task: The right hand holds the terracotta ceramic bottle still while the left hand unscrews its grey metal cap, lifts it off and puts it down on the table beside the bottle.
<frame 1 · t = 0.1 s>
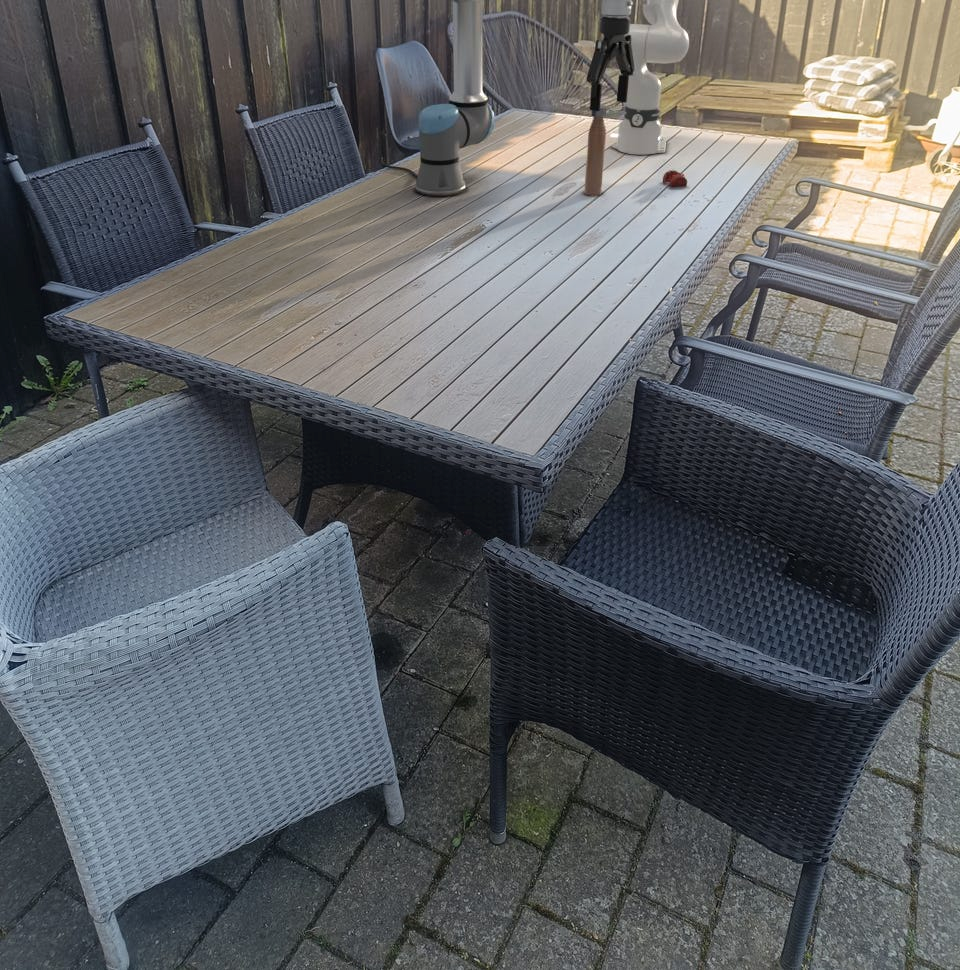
left hand: (608, 106, 226), 28 cm above the table, tool pointing down, fingers open, 13 cm apart
right hand: (629, 3, 246), 48 cm above the table, tool pointing down, fingers open, 8 cm apart
cap: (599, 107, 242), point 24 cm above the table, screwed on, not yet turned
bottle: (592, 193, 256), on the table
dental model: (674, 185, 262), on the table
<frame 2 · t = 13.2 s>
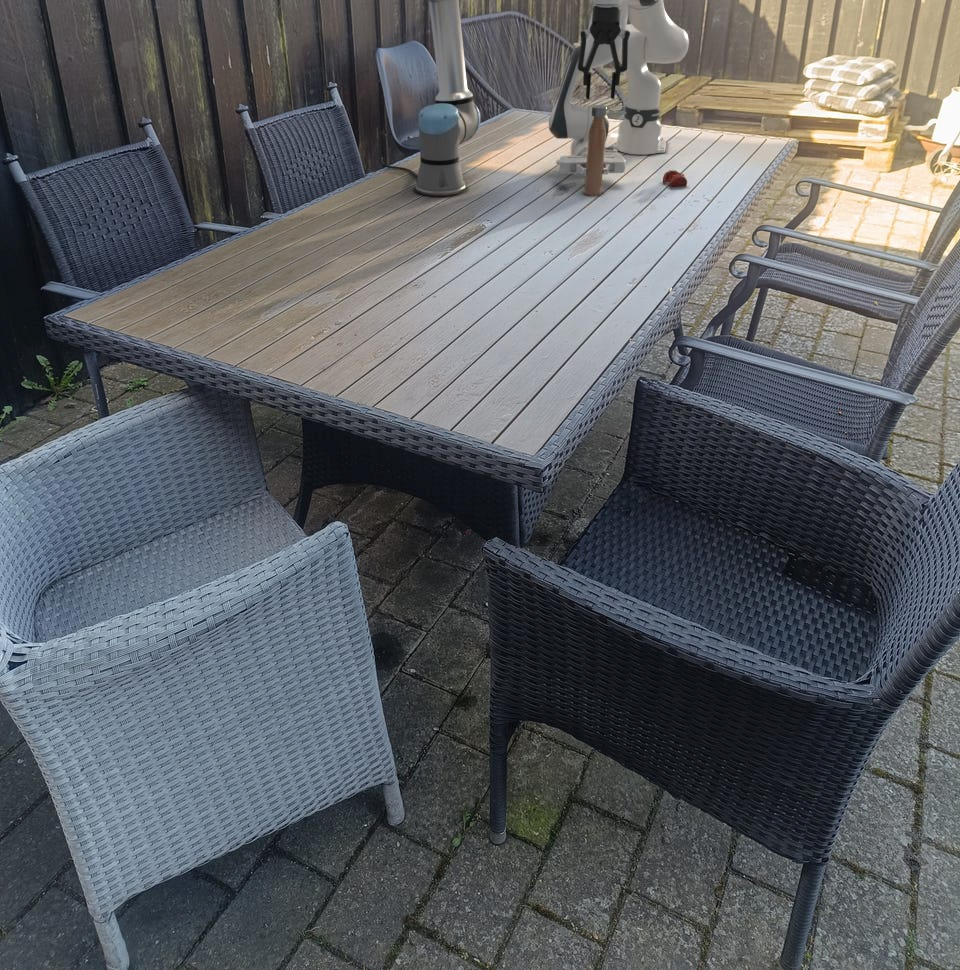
left hand: (599, 97, 240), 27 cm above the table, tool pointing down, fingers open, 6 cm apart
right hand: (594, 171, 251), 7 cm above the table, tool horizontal, fingers closed on bottle, 5 cm apart
bottle: (592, 193, 256), on the table, touching right hand
everything else where it was.
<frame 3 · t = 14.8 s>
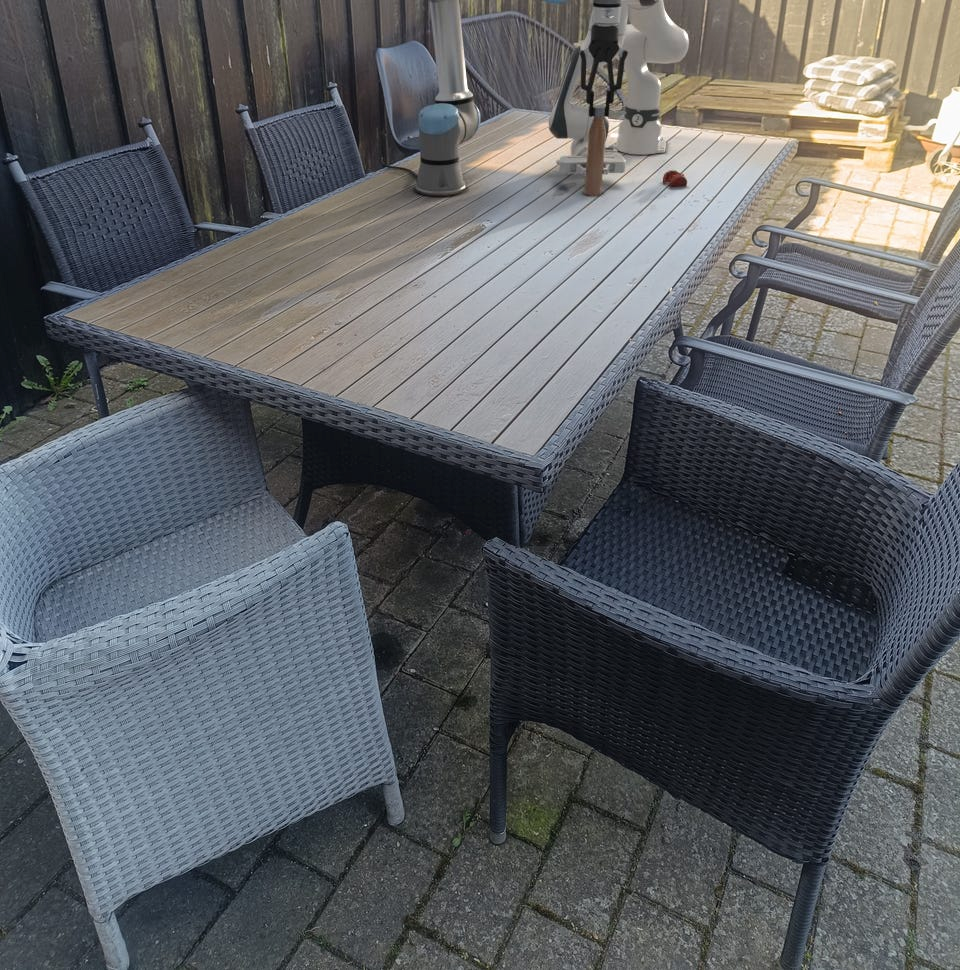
left hand: (598, 115, 243), 22 cm above the table, tool pointing down, fingers closed on cap, 4 cm apart
right hand: (594, 171, 251), 7 cm above the table, tool horizontal, fingers closed on bottle, 5 cm apart
cap: (599, 107, 242), point 24 cm above the table, screwed on, not yet turned, touching left hand
bottle: (592, 193, 256), on the table, touching right hand
everything else where it was.
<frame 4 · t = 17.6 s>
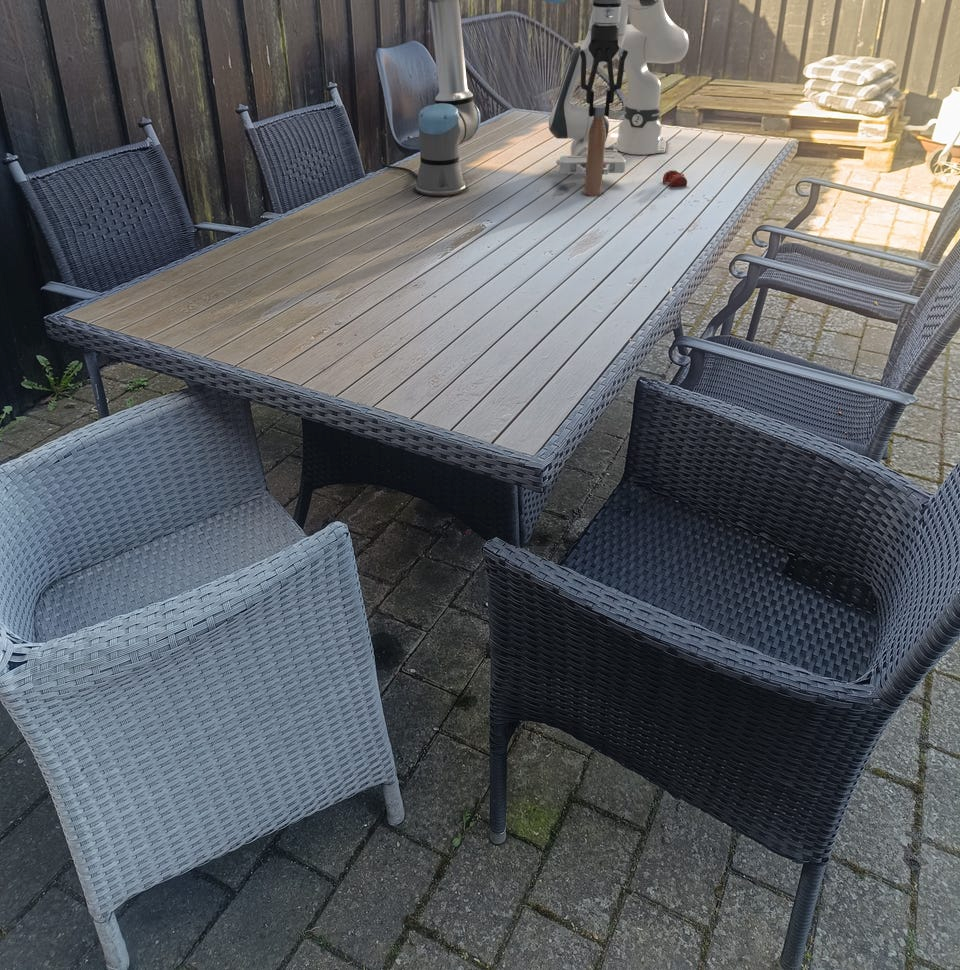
left hand: (598, 115, 243), 22 cm above the table, tool pointing down, fingers closed on cap, 4 cm apart
right hand: (594, 171, 251), 7 cm above the table, tool horizontal, fingers closed on bottle, 5 cm apart
cap: (599, 107, 242), point 24 cm above the table, turned 83° so far, risen 0.1 cm, still on its thread, touching left hand
bottle: (592, 193, 256), on the table, touching right hand
everything else where it was.
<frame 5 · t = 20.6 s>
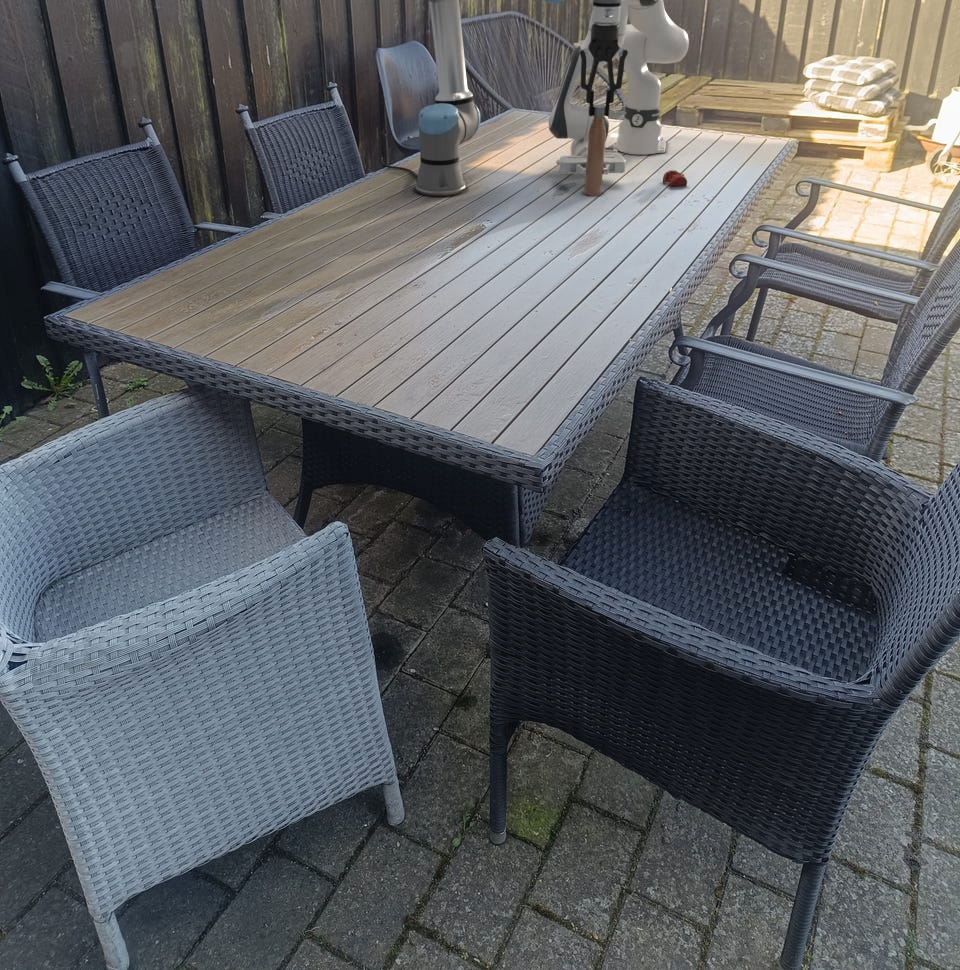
left hand: (598, 115, 243), 22 cm above the table, tool pointing down, fingers closed on cap, 4 cm apart
right hand: (594, 171, 251), 7 cm above the table, tool horizontal, fingers closed on bottle, 5 cm apart
cap: (599, 107, 241), point 24 cm above the table, turned 167° so far, risen 0.2 cm, still on its thread, touching left hand
bottle: (592, 193, 256), on the table, touching right hand
everything else where it was.
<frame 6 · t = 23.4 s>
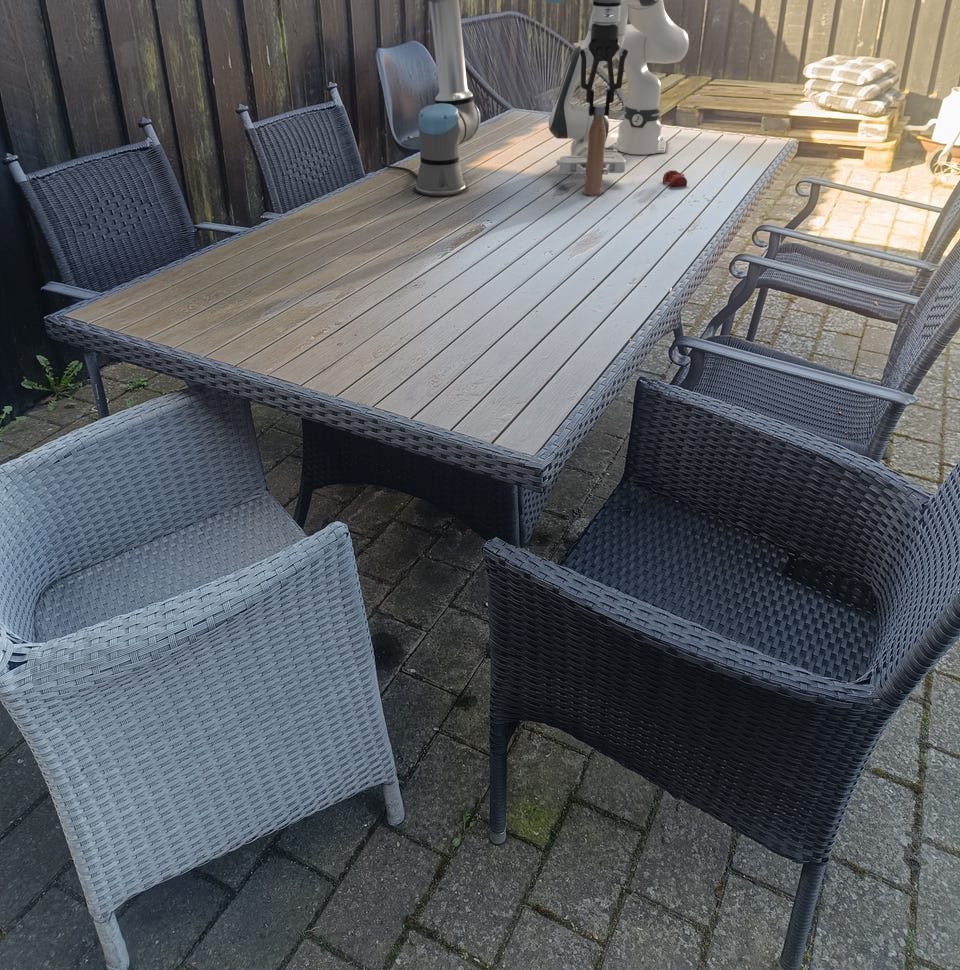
left hand: (598, 114, 243), 22 cm above the table, tool pointing down, fingers closed on cap, 4 cm apart
right hand: (594, 171, 251), 7 cm above the table, tool horizontal, fingers closed on bottle, 5 cm apart
cap: (599, 106, 241), point 24 cm above the table, turned 250° so far, risen 0.3 cm, still on its thread, touching left hand
bottle: (592, 193, 256), on the table, touching right hand
everything else where it was.
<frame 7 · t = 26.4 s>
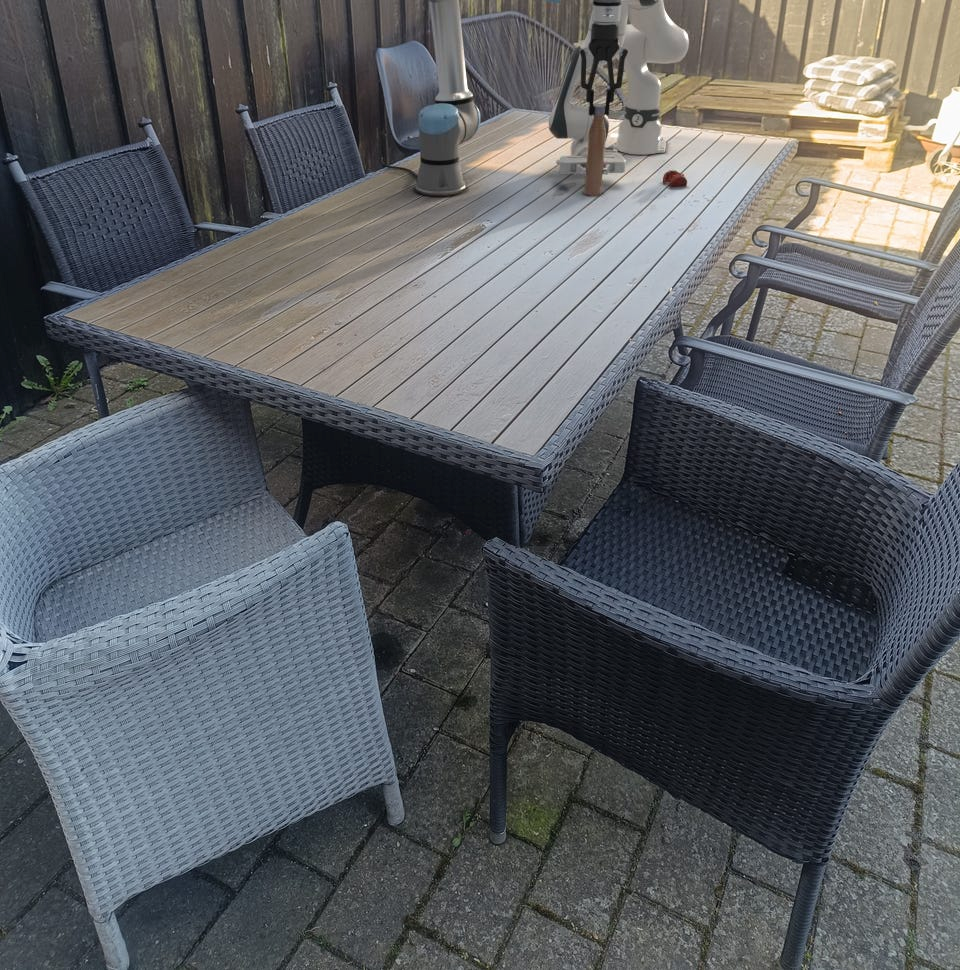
left hand: (598, 114, 243), 22 cm above the table, tool pointing down, fingers closed on cap, 4 cm apart
right hand: (594, 171, 251), 7 cm above the table, tool horizontal, fingers closed on bottle, 5 cm apart
cap: (599, 106, 241), point 25 cm above the table, turned 333° so far, risen 0.3 cm, still on its thread, touching left hand
bottle: (592, 193, 256), on the table, touching right hand
everything else where it was.
when the left hand's fingers open (1 cm above the table, at t = 34.9 s): cap drops 1 cm, point 2 cm above the table.
when the right hand's fingers open (7 cm above the table, at t = 36.3 s): bottle stays where it is, on the table.
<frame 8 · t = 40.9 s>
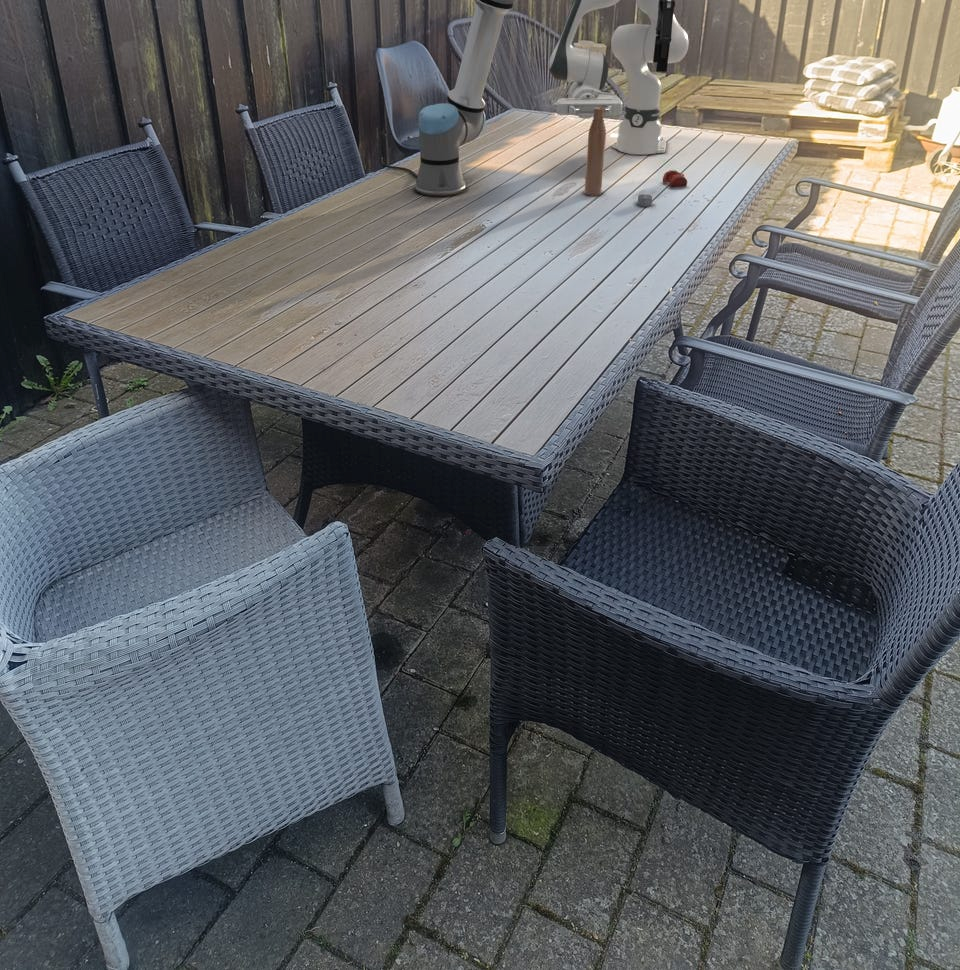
left hand: (659, 67, 225), 37 cm above the table, tool pointing down, fingers open, 13 cm apart
right hand: (592, 112, 254), 20 cm above the table, tool horizontal, fingers open, 8 cm apart
cap: (645, 197, 245), point 2 cm above the table, off its thread
bottle: (592, 193, 256), on the table
everything else where it was.
at the end: cap came off its thread; cap point 2.1 cm above the table; the left hand is holding nothing; the right hand is holding nothing; bottle tilted 0°; bottle moved 0.0 cm from its start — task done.
